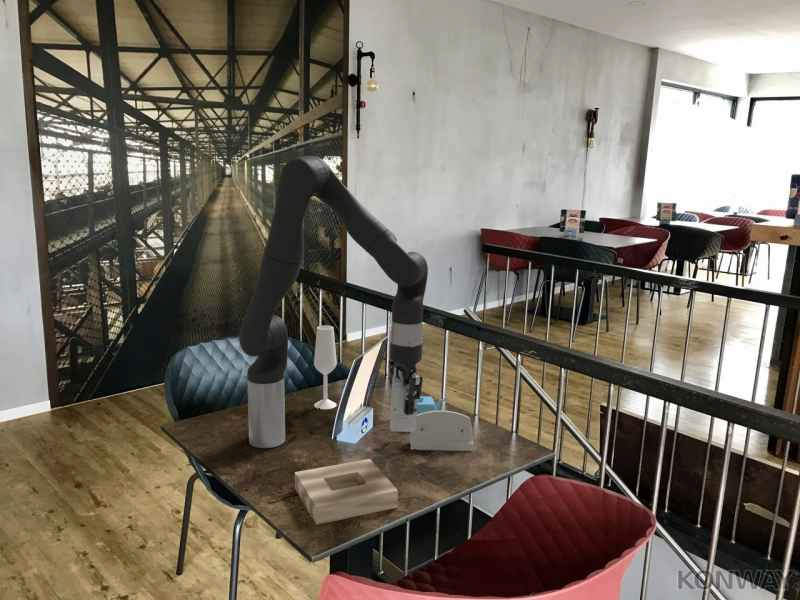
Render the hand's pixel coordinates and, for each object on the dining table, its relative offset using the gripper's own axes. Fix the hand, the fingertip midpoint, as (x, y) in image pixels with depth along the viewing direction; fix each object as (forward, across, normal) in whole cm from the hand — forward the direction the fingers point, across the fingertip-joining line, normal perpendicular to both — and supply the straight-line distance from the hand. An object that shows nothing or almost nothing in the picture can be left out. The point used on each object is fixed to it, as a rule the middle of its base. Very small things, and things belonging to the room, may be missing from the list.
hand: (403, 409), depth 154 cm
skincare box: (+5, 0, 0) cm, 5 cm away
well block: (+16, +7, -17) cm, 24 cm away
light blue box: (+16, -24, +18) cm, 34 cm away
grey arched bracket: (+16, -10, +16) cm, 24 cm away
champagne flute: (+16, -47, -4) cm, 50 cm away
